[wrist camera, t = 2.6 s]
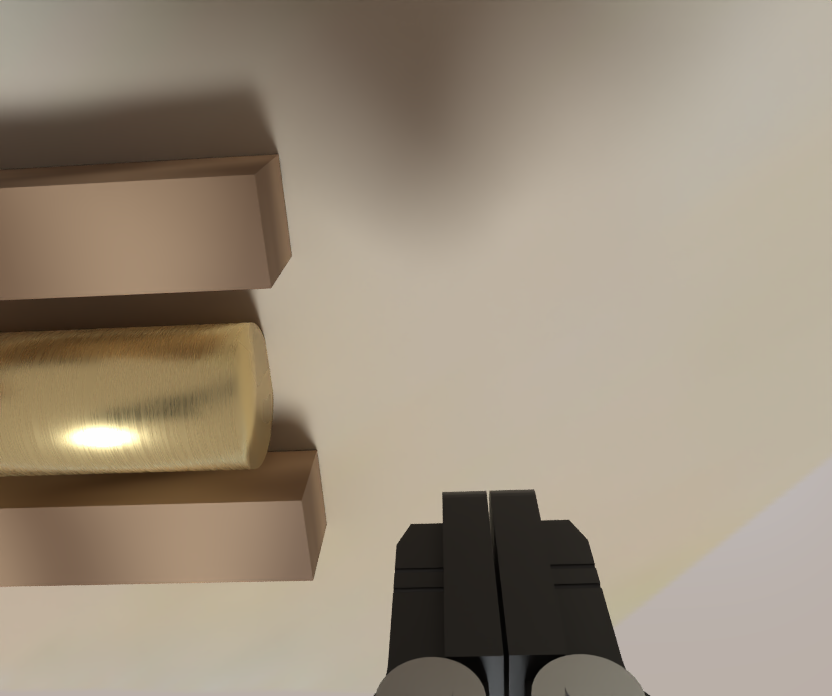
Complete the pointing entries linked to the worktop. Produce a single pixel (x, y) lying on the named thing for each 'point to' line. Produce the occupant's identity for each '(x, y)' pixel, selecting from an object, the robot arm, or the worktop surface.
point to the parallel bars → (146, 274)
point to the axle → (134, 400)
